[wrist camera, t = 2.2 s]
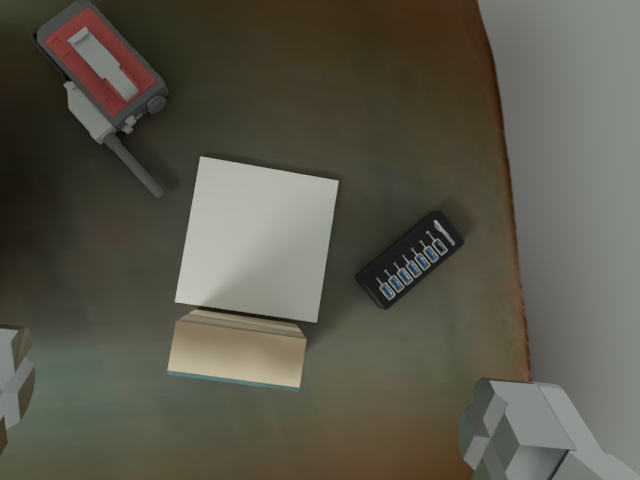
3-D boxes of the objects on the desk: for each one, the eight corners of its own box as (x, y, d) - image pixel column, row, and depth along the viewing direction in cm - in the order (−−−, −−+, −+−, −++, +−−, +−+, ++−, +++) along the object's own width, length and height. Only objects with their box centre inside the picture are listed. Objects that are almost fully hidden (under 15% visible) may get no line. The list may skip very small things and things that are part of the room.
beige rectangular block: (289, 363, 51) (298, 391, 40) (188, 350, 50) (166, 374, 38) (295, 323, 52) (306, 339, 40) (195, 309, 51) (176, 320, 39)
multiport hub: (352, 276, 53) (357, 276, 51) (431, 210, 54) (439, 208, 52) (379, 309, 53) (385, 311, 51) (457, 243, 55) (466, 242, 52)
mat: (316, 322, 52) (316, 322, 51) (175, 301, 50) (174, 301, 50) (337, 181, 53) (338, 180, 52) (201, 157, 52) (200, 156, 51)
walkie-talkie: (18, 54, 51) (156, 206, 51) (-5, 33, 46) (146, 199, 47) (89, -1, 52) (223, 149, 52) (73, -26, 47) (220, 138, 48)
